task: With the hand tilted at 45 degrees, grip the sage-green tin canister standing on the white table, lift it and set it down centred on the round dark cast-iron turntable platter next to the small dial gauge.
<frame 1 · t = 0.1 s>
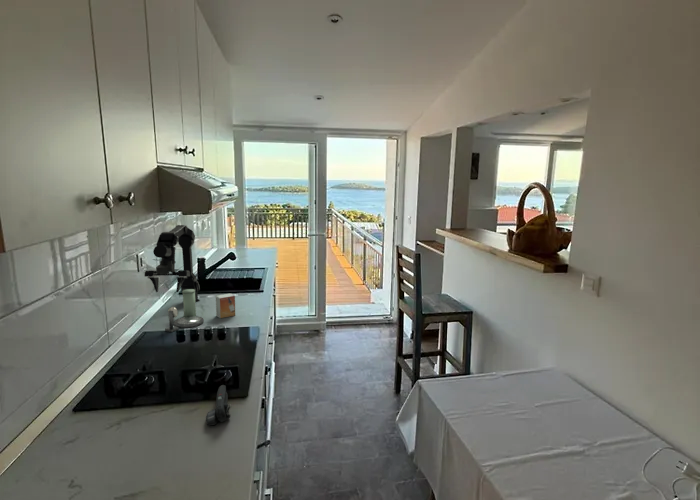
hand: (167, 292, 178), 15 cm above the worktop, tool pointing down, fingers open, 9 cm apart
can opener: (221, 410, 114), on the worktop
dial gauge: (171, 329, 173), on the worktop
platter: (189, 322, 182), on the worktop
small box: (226, 315, 193), on the worktop
canister: (190, 315, 192), on the worktop
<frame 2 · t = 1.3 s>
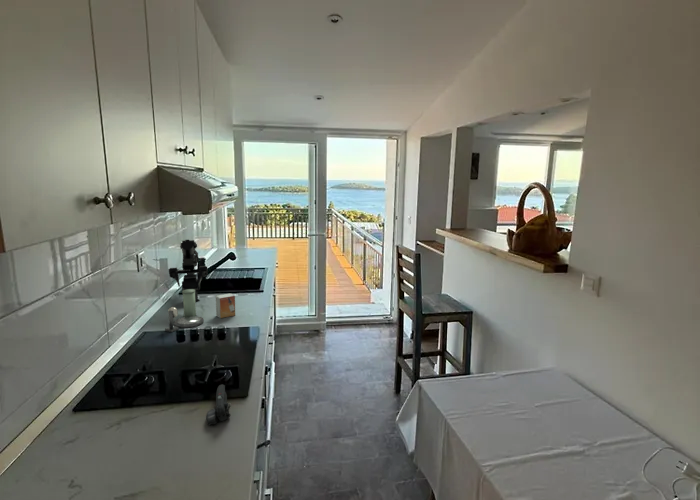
hand: (188, 285, 197), 13 cm above the worktop, tool tilted 45°, fingers open, 9 cm apart
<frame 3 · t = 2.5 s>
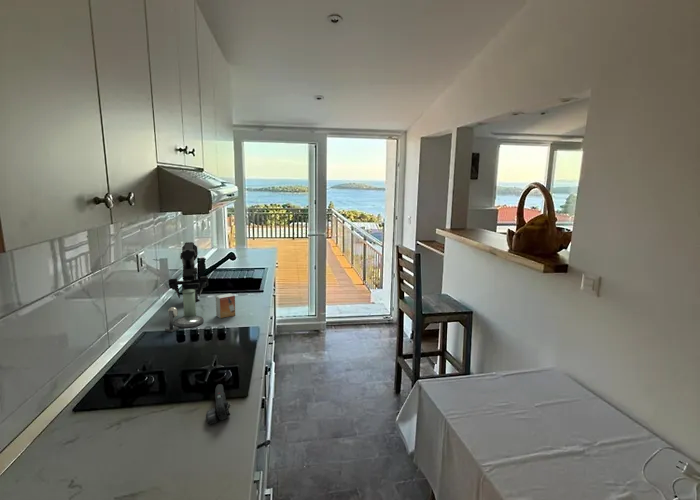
hand: (189, 296, 192), 9 cm above the worktop, tool tilted 45°, fingers open, 9 cm apart
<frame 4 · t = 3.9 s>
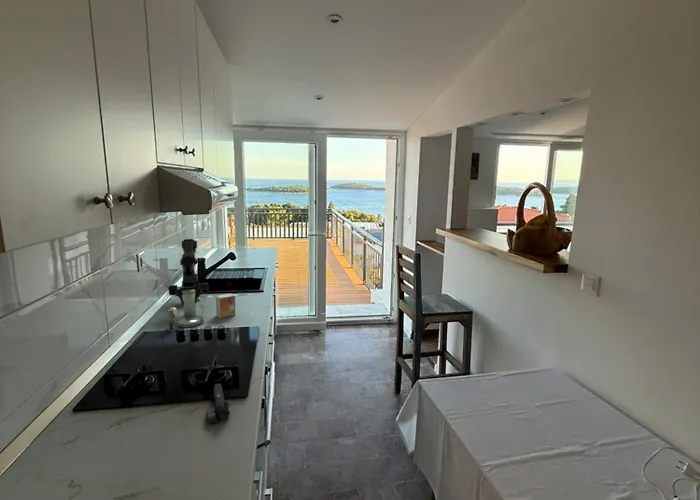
hand: (189, 303, 189), 7 cm above the worktop, tool tilted 45°, fingers closed on canister, 6 cm apart
canister: (190, 315, 192), on the worktop, touching gripper
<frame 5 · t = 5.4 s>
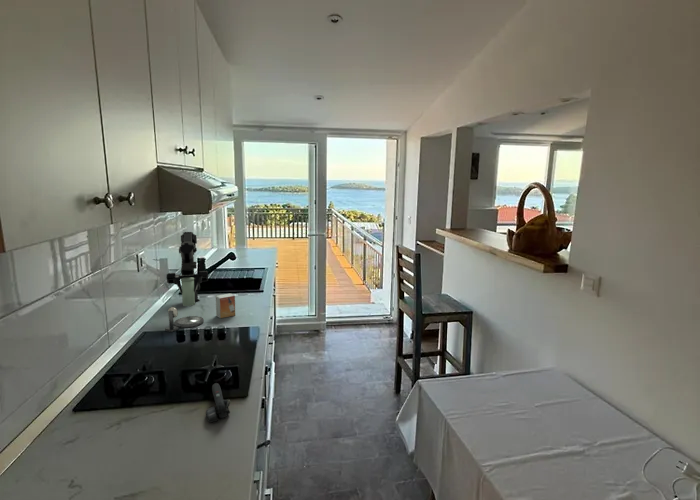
hand: (188, 292, 184), 14 cm above the worktop, tool tilted 45°, fingers closed on canister, 6 cm apart
canister: (188, 304, 186), point 7 cm above the worktop, touching gripper
when the fingers open (9 cm above the worktop, at t = 7.1 s): canister stays where it is, resting on platter.
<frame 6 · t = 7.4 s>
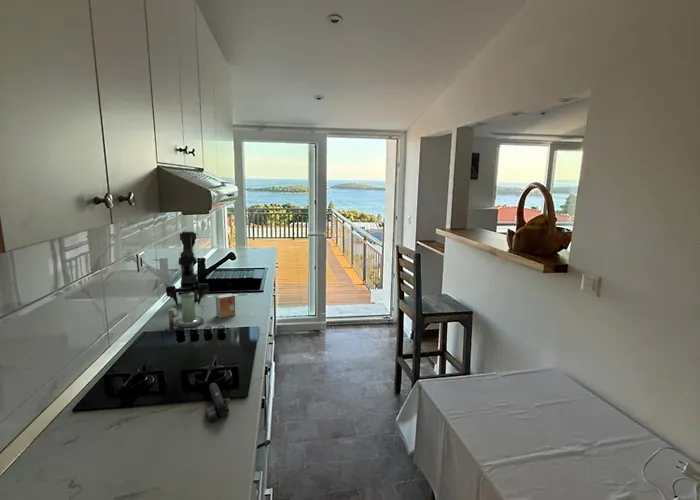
hand: (188, 305, 179), 9 cm above the worktop, tool tilted 45°, fingers open, 9 cm apart
canister: (189, 320, 182), point 1 cm above the worktop, touching platter
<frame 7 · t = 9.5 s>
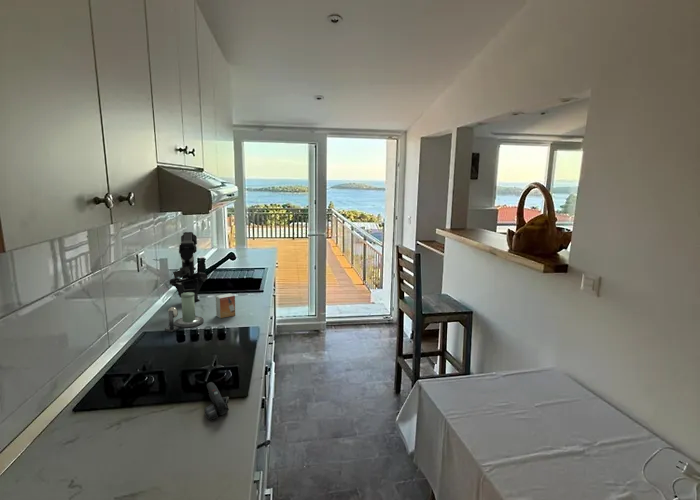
hand: (188, 295, 191), 10 cm above the worktop, tool tilted 30°, fingers open, 9 cm apart
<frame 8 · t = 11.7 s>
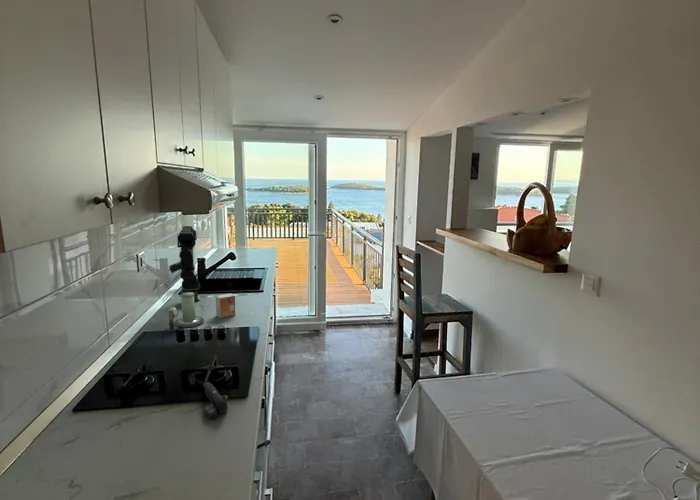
hand: (188, 286, 196), 13 cm above the worktop, tool pointing down, fingers open, 9 cm apart
at the end: canister 0.2 cm from the platter (horizontally); canister tilted 0°; canister point 1.3 cm above the worktop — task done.
